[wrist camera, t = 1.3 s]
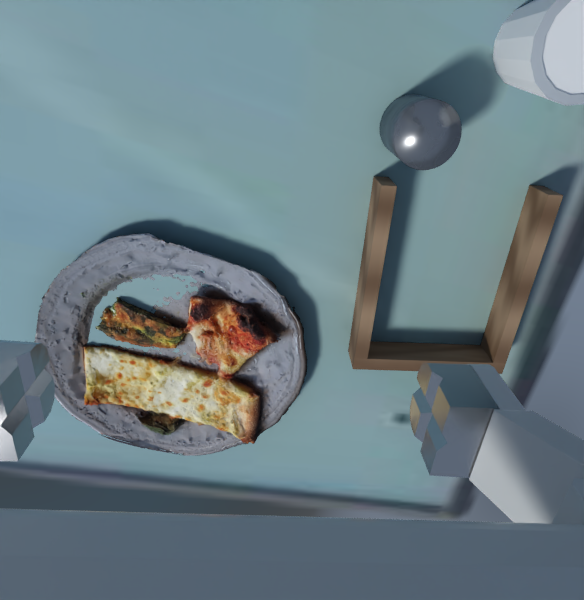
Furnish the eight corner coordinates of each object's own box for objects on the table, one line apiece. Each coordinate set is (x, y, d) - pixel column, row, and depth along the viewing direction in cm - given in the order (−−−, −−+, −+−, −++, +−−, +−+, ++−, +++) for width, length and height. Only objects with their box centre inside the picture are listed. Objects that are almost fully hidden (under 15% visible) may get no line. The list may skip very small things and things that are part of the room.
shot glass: (472, 91, 35) (514, 98, 29) (502, -18, 32) (558, -36, 25) (557, 102, 35) (617, 112, 29) (595, -3, 32) (671, -16, 26)
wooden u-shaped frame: (373, 176, 38) (381, 185, 35) (543, 185, 38) (563, 195, 36) (348, 350, 46) (352, 368, 43) (489, 355, 46) (502, 373, 44)
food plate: (343, 292, 42) (347, 311, 39) (259, 461, 53) (257, 486, 49) (68, 194, 38) (48, 207, 35) (34, 399, 48) (16, 423, 45)
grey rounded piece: (384, 92, 35) (400, 97, 30) (444, 96, 35) (468, 101, 31) (375, 154, 37) (389, 168, 32) (431, 158, 37) (453, 171, 33)
